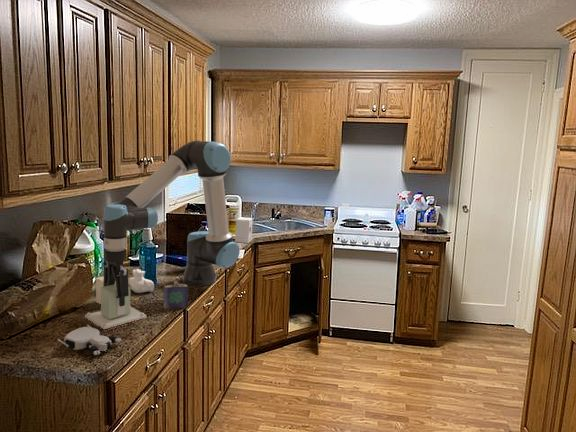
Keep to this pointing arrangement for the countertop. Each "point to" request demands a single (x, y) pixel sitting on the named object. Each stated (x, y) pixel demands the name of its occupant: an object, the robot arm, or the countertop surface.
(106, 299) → the sage brick
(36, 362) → the countertop surface
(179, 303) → the flask
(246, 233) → the supplement box
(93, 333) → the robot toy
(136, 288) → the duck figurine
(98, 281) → the cream brick
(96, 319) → the baseplate
